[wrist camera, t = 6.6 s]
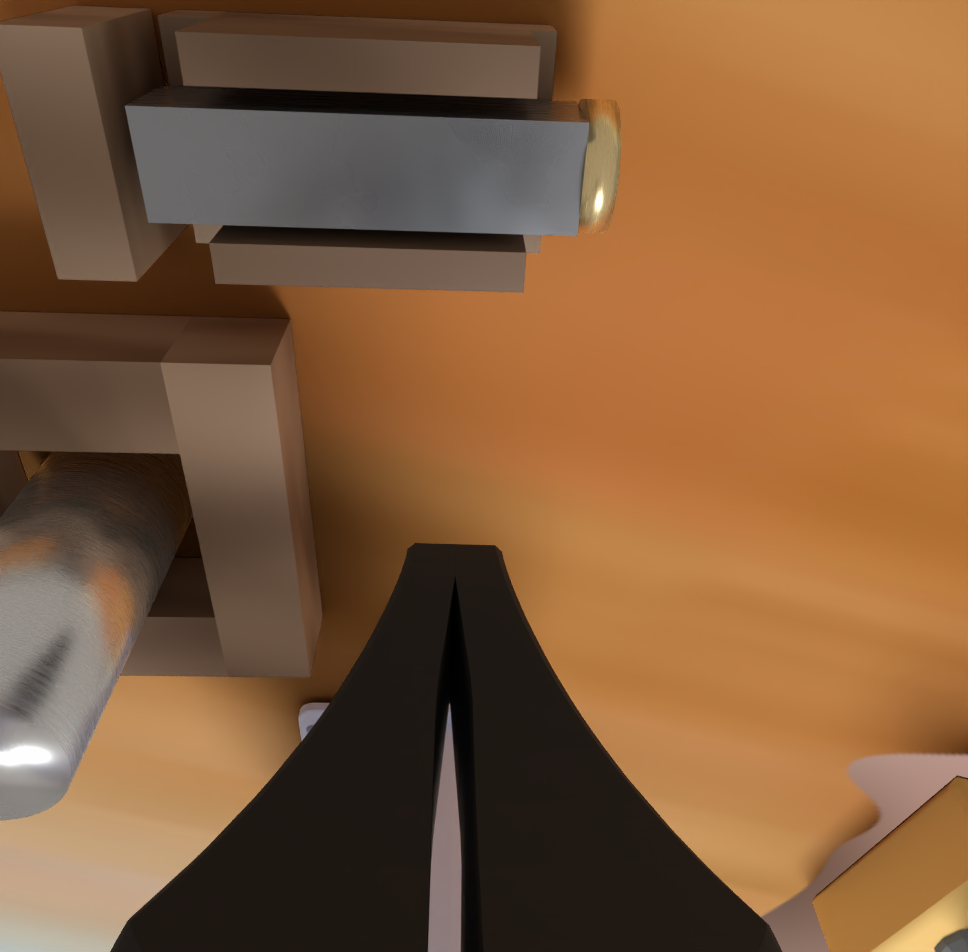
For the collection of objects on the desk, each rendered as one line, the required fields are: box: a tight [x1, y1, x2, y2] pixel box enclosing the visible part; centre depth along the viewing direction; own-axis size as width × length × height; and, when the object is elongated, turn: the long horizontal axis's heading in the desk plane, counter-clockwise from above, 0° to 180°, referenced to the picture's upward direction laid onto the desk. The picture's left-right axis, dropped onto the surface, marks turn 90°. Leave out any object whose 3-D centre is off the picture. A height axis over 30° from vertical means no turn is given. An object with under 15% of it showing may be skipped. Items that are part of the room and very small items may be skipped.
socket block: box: [0, 311, 323, 677], centre depth 21 cm, size 10×10×2 cm
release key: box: [125, 86, 621, 236], centre depth 15 cm, size 2×9×2 cm, turn 88°
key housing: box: [0, 6, 557, 293], centre depth 16 cm, size 4×10×4 cm, turn 88°
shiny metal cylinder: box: [0, 451, 193, 820], centre depth 19 cm, size 4×4×9 cm
